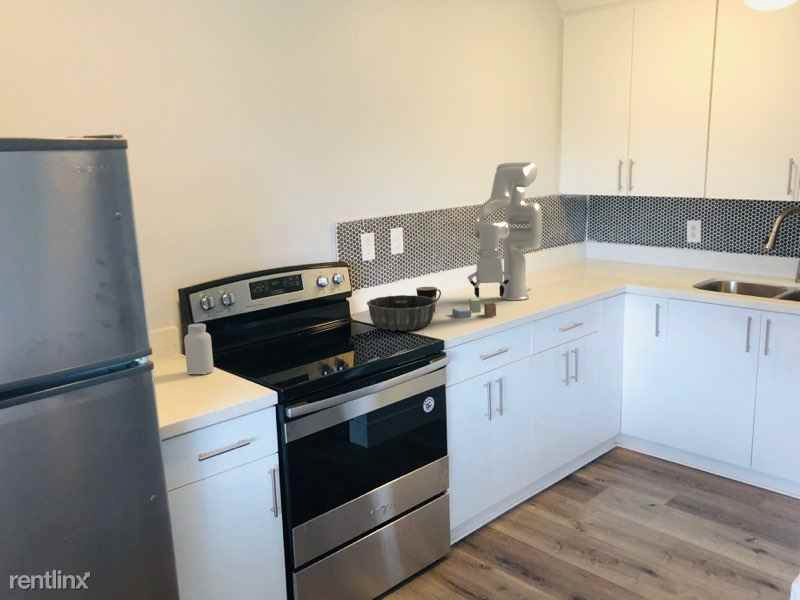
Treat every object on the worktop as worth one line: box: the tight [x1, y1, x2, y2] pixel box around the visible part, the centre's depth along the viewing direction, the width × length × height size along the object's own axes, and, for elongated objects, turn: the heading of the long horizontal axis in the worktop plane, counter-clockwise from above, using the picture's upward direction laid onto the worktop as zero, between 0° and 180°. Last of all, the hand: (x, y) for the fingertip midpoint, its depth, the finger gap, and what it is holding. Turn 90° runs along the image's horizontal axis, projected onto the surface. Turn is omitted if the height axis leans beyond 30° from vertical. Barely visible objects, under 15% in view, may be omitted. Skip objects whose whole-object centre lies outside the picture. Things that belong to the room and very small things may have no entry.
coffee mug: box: [415, 286, 442, 313], centre depth 304 cm, size 12×9×10 cm
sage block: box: [468, 297, 482, 313], centre depth 303 cm, size 6×4×5 cm, turn 5°
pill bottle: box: [183, 323, 214, 374], centre depth 225 cm, size 8×8×15 cm
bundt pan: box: [366, 294, 437, 332], centre depth 279 cm, size 26×26×10 cm
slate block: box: [451, 306, 472, 319], centre depth 295 cm, size 8×5×3 cm, turn 16°
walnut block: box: [483, 301, 497, 318], centre depth 293 cm, size 6×4×5 cm, turn 5°
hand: (489, 296), depth 291 cm, fingers open, 9 cm apart
